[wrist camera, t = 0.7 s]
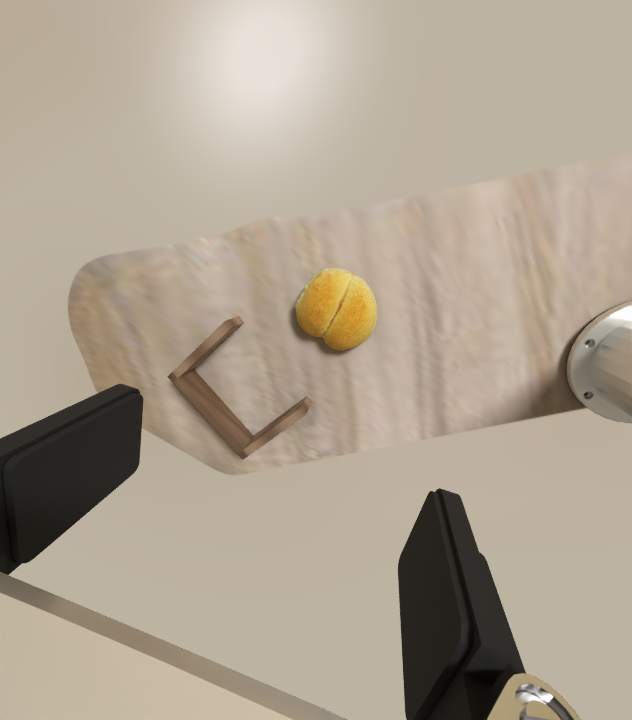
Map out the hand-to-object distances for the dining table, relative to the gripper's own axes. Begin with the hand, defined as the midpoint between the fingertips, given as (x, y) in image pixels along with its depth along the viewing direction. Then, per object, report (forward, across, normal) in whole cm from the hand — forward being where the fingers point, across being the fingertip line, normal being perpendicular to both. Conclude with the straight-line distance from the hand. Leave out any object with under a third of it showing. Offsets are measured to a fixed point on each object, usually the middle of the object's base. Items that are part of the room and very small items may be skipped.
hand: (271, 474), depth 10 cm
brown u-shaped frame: (+28, +11, +12) cm, 32 cm away
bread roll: (+29, +2, -1) cm, 29 cm away
